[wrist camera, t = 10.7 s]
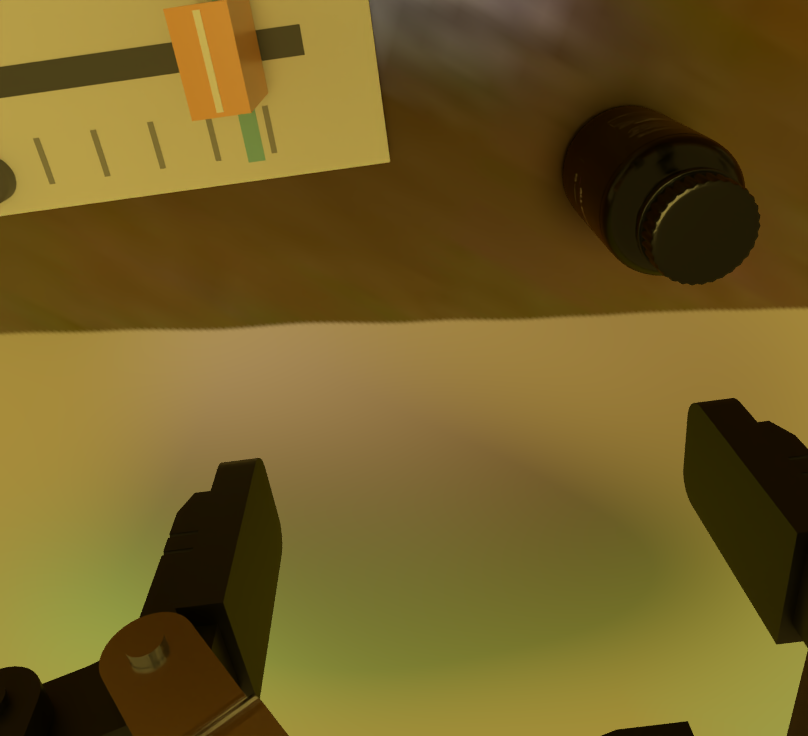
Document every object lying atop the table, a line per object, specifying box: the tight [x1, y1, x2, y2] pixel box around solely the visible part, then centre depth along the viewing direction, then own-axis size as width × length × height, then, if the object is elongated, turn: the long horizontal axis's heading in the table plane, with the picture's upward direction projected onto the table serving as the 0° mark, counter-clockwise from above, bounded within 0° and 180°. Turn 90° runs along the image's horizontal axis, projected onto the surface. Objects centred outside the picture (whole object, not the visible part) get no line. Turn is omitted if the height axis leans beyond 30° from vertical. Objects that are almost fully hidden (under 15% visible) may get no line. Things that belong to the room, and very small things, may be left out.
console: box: [0, 0, 390, 216], centre depth 36 cm, size 13×24×4 cm, turn 97°
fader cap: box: [163, 0, 268, 121], centre depth 33 cm, size 4×3×6 cm, turn 7°
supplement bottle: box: [563, 106, 760, 285], centre depth 36 cm, size 7×7×12 cm
